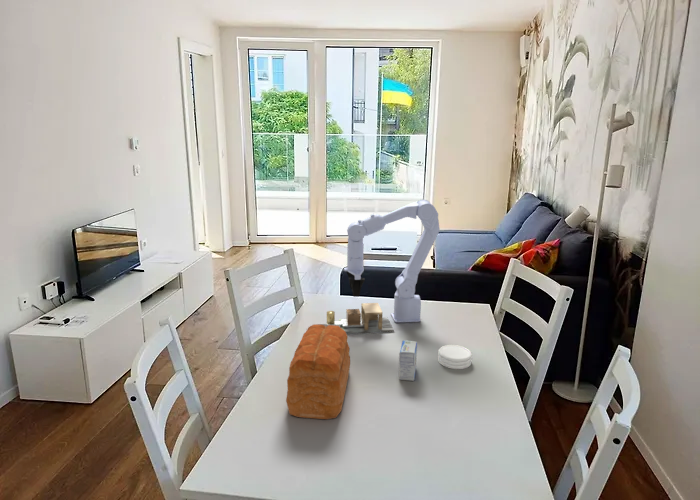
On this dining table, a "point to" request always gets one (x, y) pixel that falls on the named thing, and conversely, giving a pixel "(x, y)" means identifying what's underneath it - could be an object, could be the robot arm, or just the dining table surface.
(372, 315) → the track
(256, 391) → the dining table surface
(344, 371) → the bread
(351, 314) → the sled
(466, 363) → the coaster
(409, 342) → the medicine box
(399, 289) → the robot arm
